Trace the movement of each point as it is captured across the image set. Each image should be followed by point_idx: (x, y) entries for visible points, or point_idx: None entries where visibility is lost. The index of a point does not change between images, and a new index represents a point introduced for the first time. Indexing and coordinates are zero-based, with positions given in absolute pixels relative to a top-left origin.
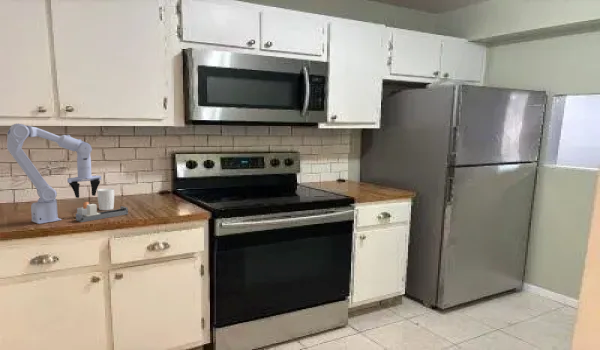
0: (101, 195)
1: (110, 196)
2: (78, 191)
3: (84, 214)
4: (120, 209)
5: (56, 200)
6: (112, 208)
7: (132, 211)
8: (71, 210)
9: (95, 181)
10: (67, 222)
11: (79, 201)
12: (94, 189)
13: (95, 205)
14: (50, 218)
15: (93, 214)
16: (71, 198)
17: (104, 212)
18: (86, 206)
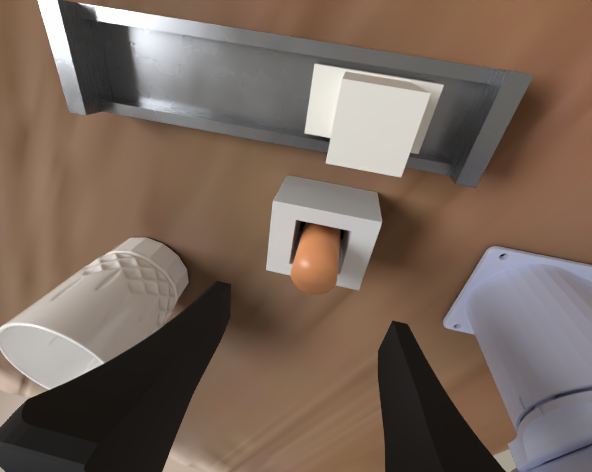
0: (128, 329)
1: (76, 288)
2: (422, 387)
3: (363, 199)
4: (106, 101)
5: (542, 399)
6: (128, 239)
7: (39, 70)
8: (284, 359)
9: (90, 466)
10: (535, 165)
11: (182, 420)
12: (192, 337)
13: (356, 79)
14: (570, 277)
15: (378, 77)
16: (182, 453)
17: (240, 124)
18: (327, 241)
